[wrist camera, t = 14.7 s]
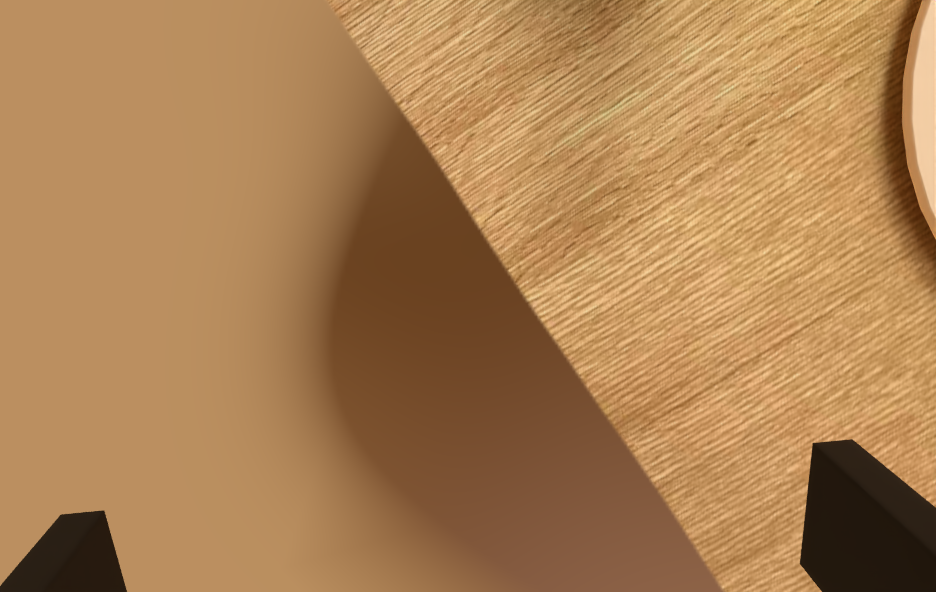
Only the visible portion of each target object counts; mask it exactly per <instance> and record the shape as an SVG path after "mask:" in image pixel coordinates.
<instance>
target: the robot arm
mask: <svg viewBox="0 0 936 592" xmlns="http://www.w3.org/2000/svg"><path fill="white" fill-rule="evenodd" d="M800 564H801V566H802V567H803V568H804V569H805V571H806V572H807V573H808V575H809V576H810V577H811V578H812V580H813V581H814V582H815V583H816V585H817V586H818V587H819V588H820V590H821V591H822V592H936V508H935V507H934V506H933V505H932V504H930V503H929V502H928V501H927V500H925V499H924V498H923V497H922V496H921V495H919V494H918V493H917V492H916V491H914V490H913V489H912V488H911V487H910V486H908V485H907V484H906V483H905V482H904V481H902V480H901V479H900V478H899V477H897V476H896V475H895V474H894V473H893V472H891V471H890V470H889V469H888V468H886V467H885V466H884V465H883V464H882V463H880V462H879V461H878V460H877V459H876V458H874V457H873V456H872V455H871V454H869V453H868V452H867V451H866V450H865V449H863V448H862V447H861V446H860V445H858V444H857V443H856V442H855V441H854V440H841V441H831V442H820V443H813V447H812V456H811V465H810V475H809V484H808V493H807V503H806V512H805V521H804V531H803V540H802V549H801V559H800ZM0 592H127V590H126V587H125V583H124V580H123V576H122V573H121V569H120V565H119V562H118V558H117V555H116V551H115V547H114V544H113V540H112V537H111V533H110V530H109V526H108V522H107V519H106V515H105V512H104V511H94V512H83V513H73V514H64V515H63V514H62V515H60V516H59V518H58V519H57V520H56V521H55V522H54V523H53V525H52V526H51V527H50V528H49V529H48V530H47V532H46V533H45V534H44V535H43V536H42V537H41V539H40V540H39V541H38V542H37V543H36V545H35V546H34V547H33V548H32V549H31V550H30V552H29V553H28V554H27V555H26V556H25V558H24V559H23V560H22V561H21V562H20V563H19V564H18V566H17V567H16V568H15V569H14V570H13V572H12V573H11V574H10V575H9V576H8V577H7V579H6V580H5V581H4V582H3V583H2V585H1V586H0Z"/></svg>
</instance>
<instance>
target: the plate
mask: <svg viewBox="0 0 936 592" xmlns="http://www.w3.org/2000/svg"><path fill="white" fill-rule="evenodd" d="M902 127H903V134H904V142H905V150H906V158H907V165H908V169H909V172H910V176H911V179H912V183H913V186H914V189H915V193H916V196H917V199H918V203H919V206H920V209H921V211H922V213H923V215H924V217H925V219H926V221H927V223H928V225H929V227H930V229H931V231H932V233H933V235H934V237H935V239H936V0H922V3H921V6H920V9H919V11H918V14H917V17H916V20H915V23H914V26H913V29H912V32H911V37H910V43H909V48H908V54H907V60H906V65H905V71H904V76H903V104H902Z"/></svg>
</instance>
